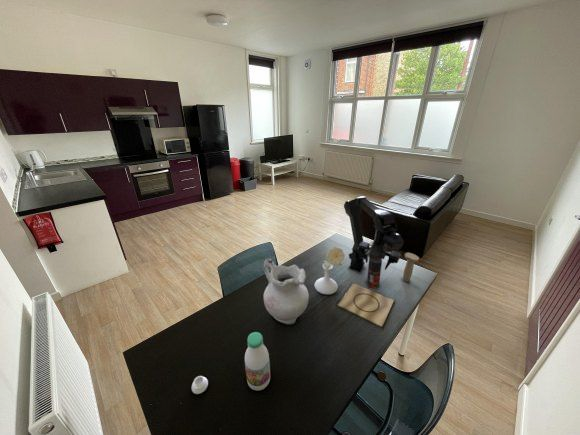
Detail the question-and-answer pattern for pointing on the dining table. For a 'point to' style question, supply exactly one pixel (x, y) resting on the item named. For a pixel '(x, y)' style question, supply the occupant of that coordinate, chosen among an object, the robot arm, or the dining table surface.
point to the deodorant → (374, 272)
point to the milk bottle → (257, 362)
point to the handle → (409, 266)
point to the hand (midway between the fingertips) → (375, 266)
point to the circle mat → (367, 304)
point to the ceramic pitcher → (285, 292)
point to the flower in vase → (326, 283)
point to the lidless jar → (199, 384)
